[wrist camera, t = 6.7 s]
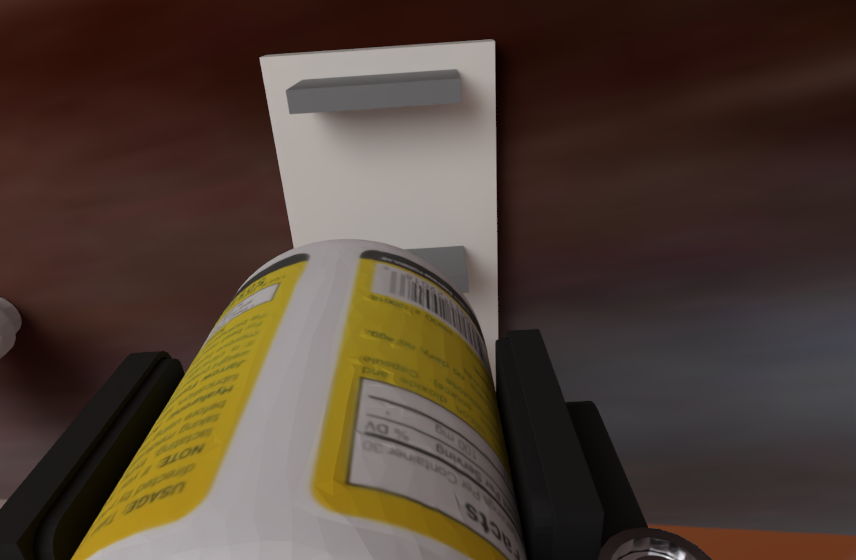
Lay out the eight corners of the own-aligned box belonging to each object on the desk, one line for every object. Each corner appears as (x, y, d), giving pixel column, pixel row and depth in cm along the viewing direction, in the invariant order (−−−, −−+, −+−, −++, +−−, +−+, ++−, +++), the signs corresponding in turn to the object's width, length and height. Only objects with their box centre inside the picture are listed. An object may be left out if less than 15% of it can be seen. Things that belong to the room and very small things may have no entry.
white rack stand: (491, 39, 23) (524, 57, 15) (496, 431, 31) (519, 562, 24) (267, 54, 23) (193, 80, 15) (334, 440, 32) (308, 573, 24)
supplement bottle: (245, 451, 13) (-119, 1375, 4) (206, 230, 11) (-798, 1289, 2) (480, 451, 13) (600, 1364, 4) (493, 231, 11) (816, 1263, 2)
